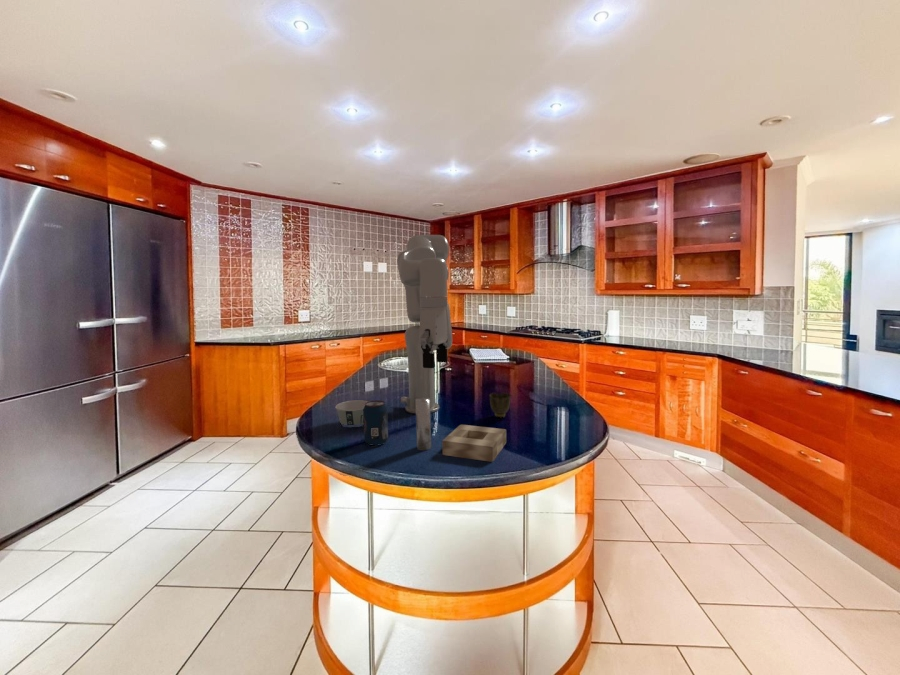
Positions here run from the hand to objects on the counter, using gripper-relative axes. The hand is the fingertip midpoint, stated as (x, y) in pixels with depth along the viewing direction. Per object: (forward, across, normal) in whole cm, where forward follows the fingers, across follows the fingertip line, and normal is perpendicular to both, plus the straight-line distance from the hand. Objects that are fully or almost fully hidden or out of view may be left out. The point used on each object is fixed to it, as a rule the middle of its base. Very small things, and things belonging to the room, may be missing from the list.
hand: (435, 364), depth 114 cm
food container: (+23, -10, -35) cm, 43 cm away
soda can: (+24, +3, -18) cm, 30 cm away
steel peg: (+23, +3, -3) cm, 24 cm away
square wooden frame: (+23, -1, +11) cm, 26 cm away
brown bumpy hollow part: (+23, -31, +11) cm, 40 cm away
